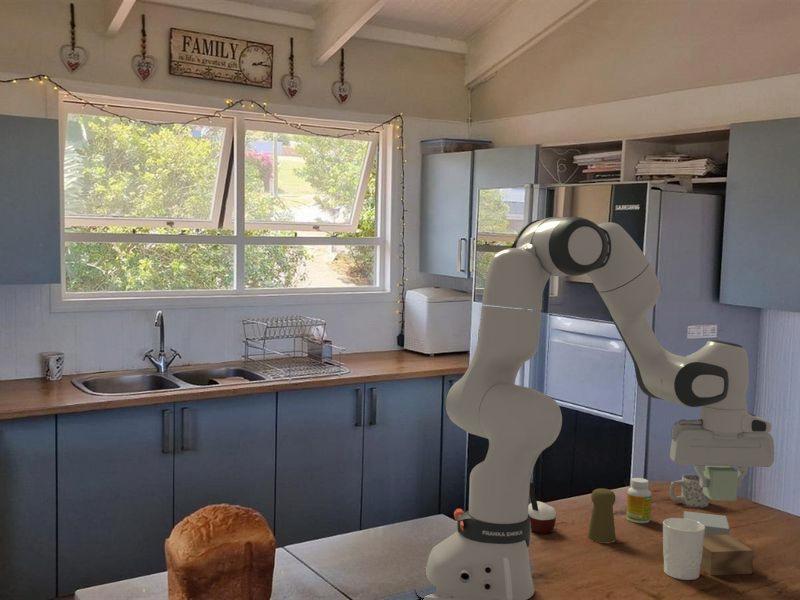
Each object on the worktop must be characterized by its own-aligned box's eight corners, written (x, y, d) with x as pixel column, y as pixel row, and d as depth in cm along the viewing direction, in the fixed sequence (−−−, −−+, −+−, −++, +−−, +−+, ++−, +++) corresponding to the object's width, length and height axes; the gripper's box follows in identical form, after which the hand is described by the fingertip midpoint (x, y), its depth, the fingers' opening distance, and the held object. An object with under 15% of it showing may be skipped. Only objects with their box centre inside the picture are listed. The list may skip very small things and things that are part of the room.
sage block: (711, 500, 164) (713, 471, 163) (702, 492, 169) (703, 464, 168) (736, 500, 164) (738, 471, 163) (726, 493, 169) (727, 464, 168)
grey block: (684, 545, 178) (685, 523, 178) (682, 532, 187) (683, 511, 186) (728, 551, 175) (729, 528, 175) (724, 537, 184) (726, 515, 184)
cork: (616, 544, 177) (618, 494, 177) (588, 541, 179) (590, 492, 178) (614, 535, 183) (616, 487, 183) (587, 532, 184) (589, 484, 184)
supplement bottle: (646, 525, 190) (648, 484, 190) (623, 520, 193) (625, 480, 192) (652, 519, 195) (654, 479, 194) (630, 514, 198) (631, 475, 197)
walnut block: (710, 576, 161) (711, 551, 161) (687, 559, 170) (688, 535, 170) (751, 574, 163) (753, 550, 163) (727, 557, 172) (728, 534, 171)
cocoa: (549, 526, 189) (552, 475, 189) (564, 534, 183) (567, 481, 183) (514, 529, 186) (516, 476, 186) (528, 537, 180) (531, 483, 180)
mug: (701, 499, 212) (702, 474, 211) (713, 507, 205) (714, 481, 205) (664, 499, 211) (665, 474, 211) (674, 507, 204) (675, 481, 204)
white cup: (662, 563, 167) (664, 515, 166) (703, 569, 164) (705, 521, 164) (659, 577, 160) (661, 527, 159) (702, 584, 157) (704, 533, 156)
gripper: (677, 422, 162) (674, 490, 163) (779, 424, 162) (776, 492, 163) (666, 415, 168) (664, 481, 169) (765, 417, 168) (762, 483, 169)
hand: (720, 486), depth 166 cm, fingers closed on sage block, 5 cm apart
